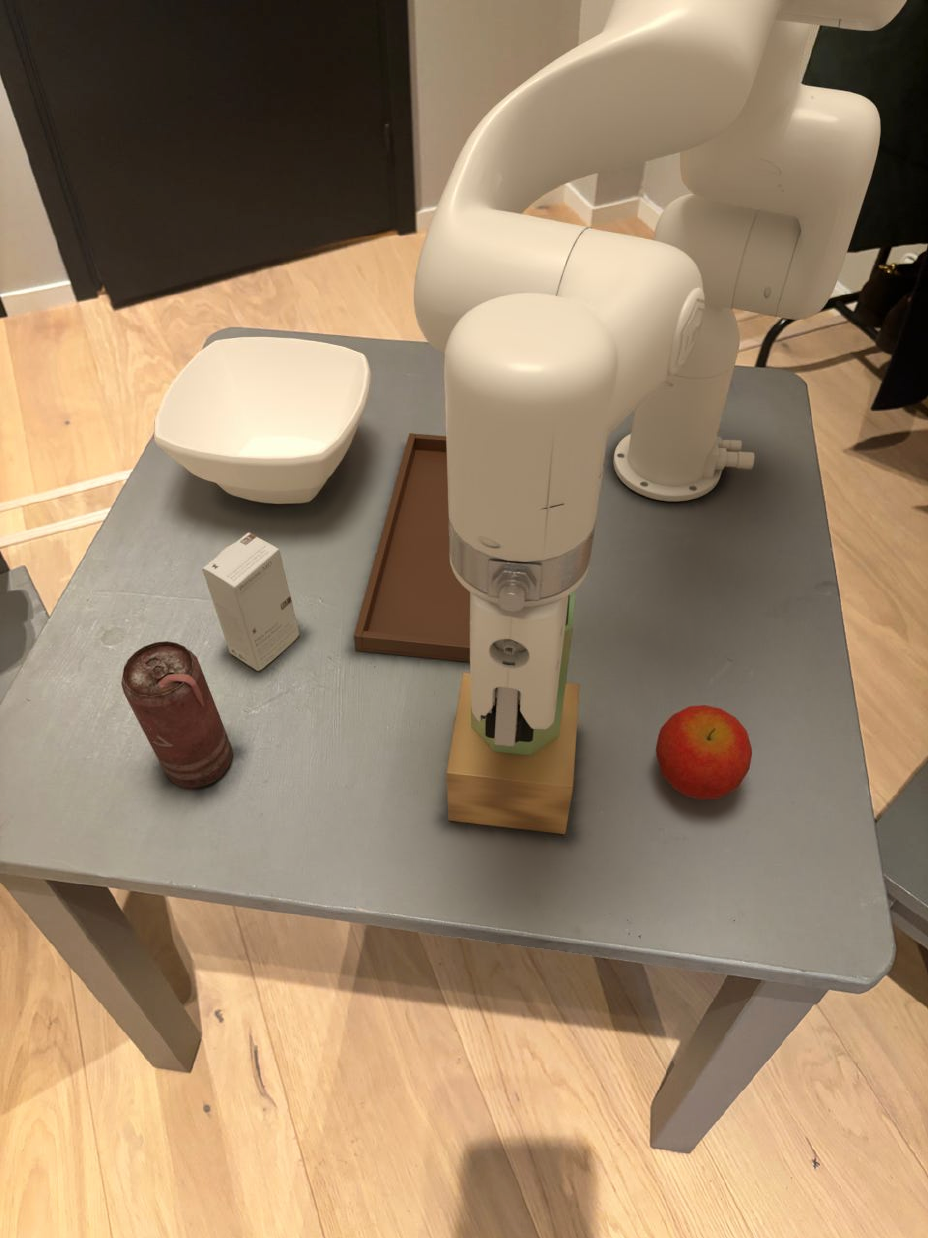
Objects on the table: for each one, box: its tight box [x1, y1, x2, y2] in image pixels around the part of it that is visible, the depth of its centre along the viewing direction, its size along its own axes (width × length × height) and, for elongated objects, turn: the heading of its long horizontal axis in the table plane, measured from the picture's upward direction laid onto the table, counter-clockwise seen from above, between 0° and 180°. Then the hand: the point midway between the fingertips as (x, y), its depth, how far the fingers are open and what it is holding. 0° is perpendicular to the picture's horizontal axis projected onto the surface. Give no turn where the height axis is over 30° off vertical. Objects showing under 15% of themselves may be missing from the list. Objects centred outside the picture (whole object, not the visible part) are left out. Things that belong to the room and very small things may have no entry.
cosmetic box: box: [201, 532, 300, 672], centre depth 85 cm, size 6×4×12 cm
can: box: [121, 640, 233, 789], centre depth 76 cm, size 6×6×14 cm
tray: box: [353, 433, 470, 663], centre depth 97 cm, size 18×32×2 cm, turn 172°
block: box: [445, 672, 580, 835], centre depth 77 cm, size 10×10×8 cm
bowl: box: [153, 336, 372, 505], centre depth 102 cm, size 22×22×12 cm
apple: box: [655, 704, 753, 800], centre depth 76 cm, size 8×8×8 cm
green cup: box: [471, 591, 576, 756], centre depth 69 cm, size 7×7×14 cm
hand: (509, 730), depth 61 cm, fingers closed
